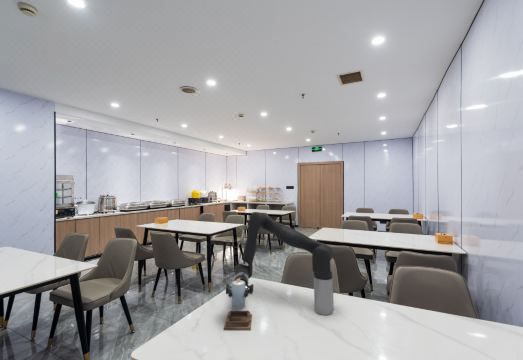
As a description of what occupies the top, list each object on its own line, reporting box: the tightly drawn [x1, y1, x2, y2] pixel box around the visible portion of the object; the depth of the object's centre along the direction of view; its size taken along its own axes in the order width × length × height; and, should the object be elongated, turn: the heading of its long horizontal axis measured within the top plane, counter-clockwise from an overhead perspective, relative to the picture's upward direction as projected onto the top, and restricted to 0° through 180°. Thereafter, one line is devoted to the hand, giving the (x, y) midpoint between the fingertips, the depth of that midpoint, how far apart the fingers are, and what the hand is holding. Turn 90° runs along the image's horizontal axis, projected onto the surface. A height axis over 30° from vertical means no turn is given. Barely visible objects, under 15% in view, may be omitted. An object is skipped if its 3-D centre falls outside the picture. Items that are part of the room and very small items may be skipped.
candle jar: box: [231, 278, 246, 311], centre depth 115 cm, size 6×6×13 cm
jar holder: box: [223, 310, 253, 331], centre depth 115 cm, size 12×12×3 cm
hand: (237, 295), depth 113 cm, fingers closed on candle jar, 6 cm apart
